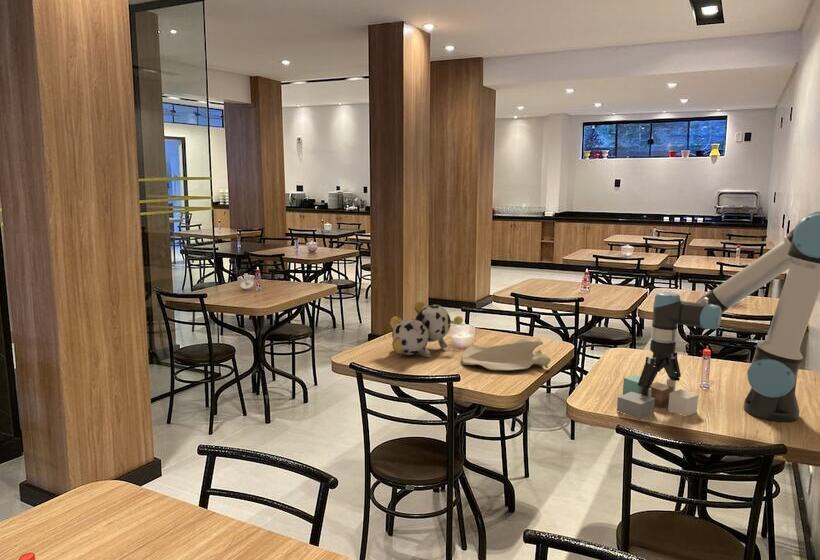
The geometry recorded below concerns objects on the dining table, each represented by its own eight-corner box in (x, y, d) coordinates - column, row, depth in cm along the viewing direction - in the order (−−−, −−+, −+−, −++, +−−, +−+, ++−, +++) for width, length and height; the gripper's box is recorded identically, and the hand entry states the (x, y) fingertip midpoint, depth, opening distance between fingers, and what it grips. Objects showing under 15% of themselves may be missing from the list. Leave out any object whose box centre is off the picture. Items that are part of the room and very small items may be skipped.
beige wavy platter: (538, 376, 219) (540, 397, 224) (553, 339, 233) (555, 360, 239) (447, 360, 235) (452, 380, 241) (467, 327, 250) (471, 347, 256)
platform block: (653, 413, 190) (654, 398, 190) (640, 419, 185) (641, 404, 184) (630, 406, 196) (631, 391, 196) (616, 411, 191) (617, 396, 191)
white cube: (696, 413, 191) (698, 394, 190) (685, 417, 188) (687, 398, 187) (678, 407, 196) (680, 389, 195) (668, 410, 192) (669, 392, 191)
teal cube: (648, 396, 205) (650, 379, 204) (637, 400, 201) (639, 383, 200) (633, 391, 210) (634, 374, 209) (622, 394, 206) (623, 378, 205)
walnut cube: (671, 404, 198) (673, 387, 197) (660, 408, 194) (662, 390, 193) (655, 399, 203) (656, 381, 202) (644, 402, 199) (645, 385, 198)
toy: (373, 322, 244) (408, 334, 231) (427, 290, 265) (461, 299, 252) (381, 366, 253) (415, 380, 240) (433, 331, 274) (467, 342, 261)
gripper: (674, 332, 205) (669, 391, 209) (629, 343, 191) (624, 406, 195) (695, 337, 199) (689, 398, 202) (650, 348, 185) (644, 414, 189)
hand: (657, 402), depth 199 cm, fingers open, 13 cm apart
